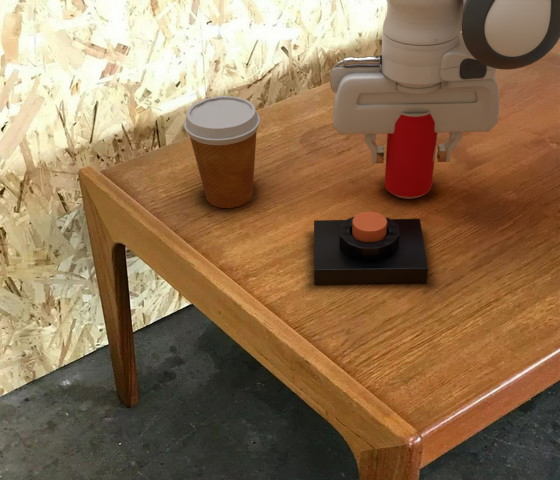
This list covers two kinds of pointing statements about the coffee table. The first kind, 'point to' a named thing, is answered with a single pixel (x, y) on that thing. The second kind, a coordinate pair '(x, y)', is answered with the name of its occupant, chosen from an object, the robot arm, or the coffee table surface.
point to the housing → (369, 254)
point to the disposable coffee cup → (224, 147)
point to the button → (369, 227)
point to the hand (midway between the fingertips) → (410, 160)
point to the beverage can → (411, 155)
